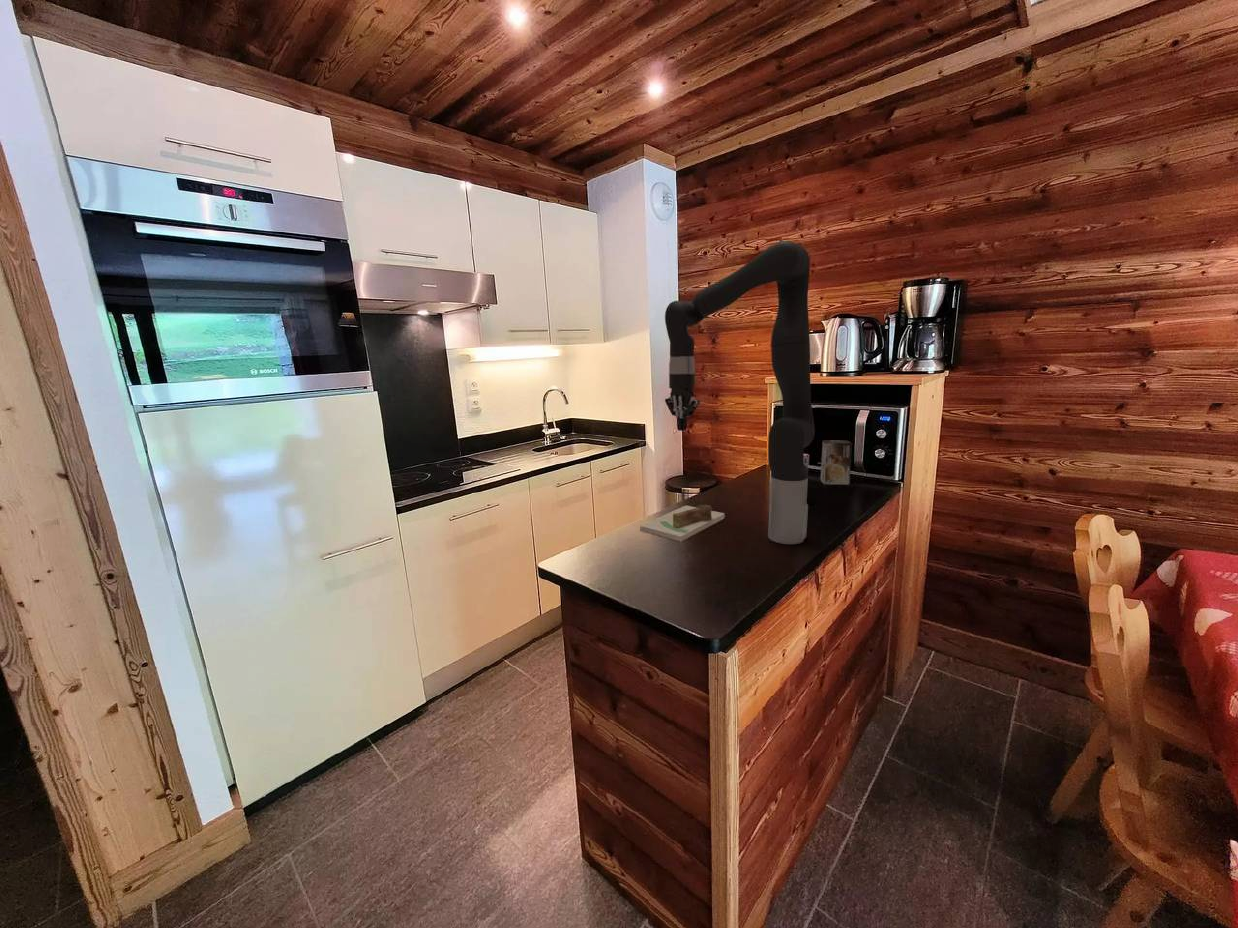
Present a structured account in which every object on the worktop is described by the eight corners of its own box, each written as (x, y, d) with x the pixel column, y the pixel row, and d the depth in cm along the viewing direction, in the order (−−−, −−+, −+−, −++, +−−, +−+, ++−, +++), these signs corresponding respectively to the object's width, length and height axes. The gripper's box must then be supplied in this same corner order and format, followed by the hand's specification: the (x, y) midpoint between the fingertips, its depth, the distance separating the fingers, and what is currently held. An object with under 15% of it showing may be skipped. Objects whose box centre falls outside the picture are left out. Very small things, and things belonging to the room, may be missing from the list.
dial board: (685, 509, 156) (686, 505, 156) (724, 518, 147) (724, 513, 147) (640, 530, 139) (640, 525, 138) (681, 541, 129) (681, 536, 129)
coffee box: (844, 480, 186) (847, 439, 182) (849, 485, 180) (853, 442, 176) (819, 480, 187) (822, 439, 184) (823, 484, 181) (826, 442, 178)
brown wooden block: (703, 514, 145) (703, 503, 145) (714, 518, 142) (714, 506, 141) (670, 524, 138) (670, 513, 137) (680, 528, 134) (680, 516, 133)
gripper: (657, 372, 144) (658, 429, 148) (688, 373, 134) (688, 434, 138) (675, 371, 149) (675, 426, 153) (707, 372, 138) (706, 431, 142)
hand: (681, 430), depth 145 cm, fingers closed
